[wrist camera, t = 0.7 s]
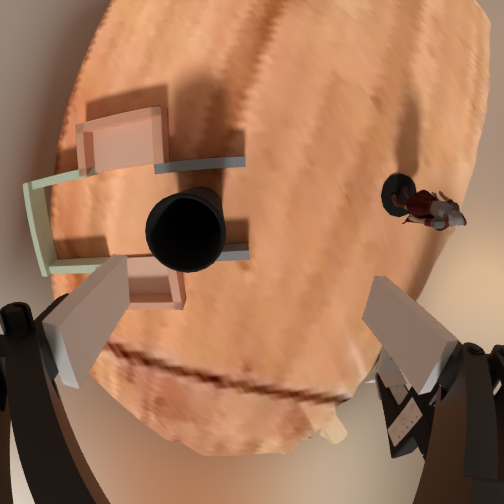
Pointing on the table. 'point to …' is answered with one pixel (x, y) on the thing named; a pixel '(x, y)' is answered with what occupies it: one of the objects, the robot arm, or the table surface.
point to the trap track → (116, 157)
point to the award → (403, 409)
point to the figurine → (419, 204)
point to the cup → (187, 230)
